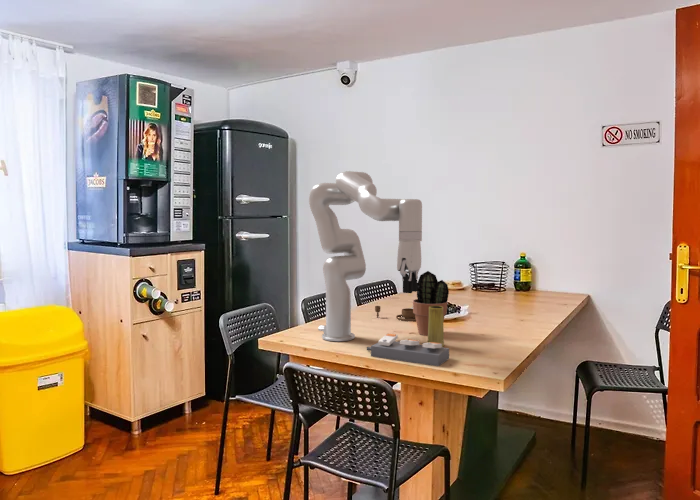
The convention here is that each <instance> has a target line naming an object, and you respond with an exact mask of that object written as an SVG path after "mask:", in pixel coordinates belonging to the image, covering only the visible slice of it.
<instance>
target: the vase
mask: <svg viewBox="0 0 700 500" xmlns="http://www.w3.org/2000/svg"><path fill="white" fill-rule="evenodd" d="M444 335H445V333H444V321H443V307H442V306H429V321H428V336H427V343H429V342H435V343H441V344H442V347H443V348H445V347H444V346H445V343H444V342H445V341H444V339H445V338H444Z"/></svg>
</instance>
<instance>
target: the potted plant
mask: <svg viewBox="0 0 700 500" xmlns="http://www.w3.org/2000/svg"><path fill="white" fill-rule="evenodd" d="M448 285H449V284H448V283H446V281H444V280H443V279H441V280H439V281H438V278H437V276H436V274H434V273H432V272H431V271H429V270H427V271H425V272H423V273H422V274H420V275H419V277H418V279H417V291H416V299H413V300H412V309H413V313H414V314H415V319H416V321H415V322H416V327H417V333H418V335H420V336H426V337H428V321H429V306H442V307H443V322H444V320H445V316H446V315H447V313H448V311H447V310H448V300H449V294H450V291H449V286H448Z"/></svg>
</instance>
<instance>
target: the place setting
mask: <svg viewBox="0 0 700 500" xmlns="http://www.w3.org/2000/svg"><path fill="white" fill-rule="evenodd" d="M374 311H375V312H376V319H379V318H380V314H379V313H380V312H381V306H380V305H375V306H374ZM401 316H403V317H401ZM378 317H379V318H378ZM395 317H396V320H397V319H398V321H400V320H401V322H408V321H413V322H416V317H415V314H414V313H413V307H412V308H410V307H409V308H401V314H397V315H396V316H395ZM398 317H400V318H398Z"/></svg>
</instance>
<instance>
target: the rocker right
mask: <svg viewBox="0 0 700 500" xmlns="http://www.w3.org/2000/svg"><path fill="white" fill-rule="evenodd" d="M422 345H423V346H422V347H426V348H442V344H441V343H435V342H429V343H428V342H424V343H422Z"/></svg>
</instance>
